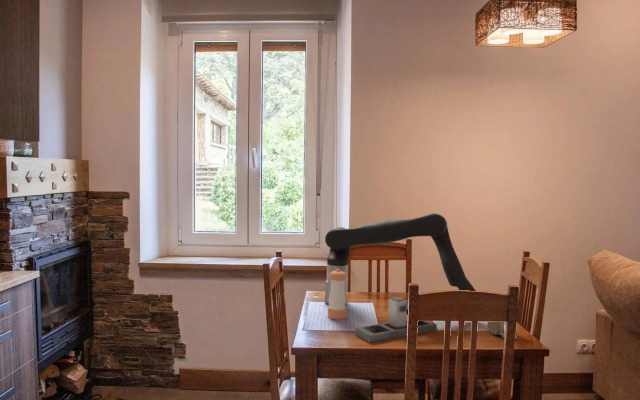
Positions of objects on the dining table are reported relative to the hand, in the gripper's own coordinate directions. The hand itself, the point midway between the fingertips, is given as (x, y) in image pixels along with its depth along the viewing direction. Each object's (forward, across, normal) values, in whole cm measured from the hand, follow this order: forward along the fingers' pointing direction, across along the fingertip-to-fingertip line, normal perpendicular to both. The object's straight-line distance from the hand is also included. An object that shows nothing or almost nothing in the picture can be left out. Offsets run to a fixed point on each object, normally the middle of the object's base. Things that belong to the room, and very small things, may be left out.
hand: (399, 309), depth 174 cm
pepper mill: (+11, -26, +9) cm, 29 cm away
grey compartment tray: (+1, 0, +9) cm, 9 cm away
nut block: (+1, 0, +9) cm, 9 cm away
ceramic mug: (-33, +19, +9) cm, 39 cm away
